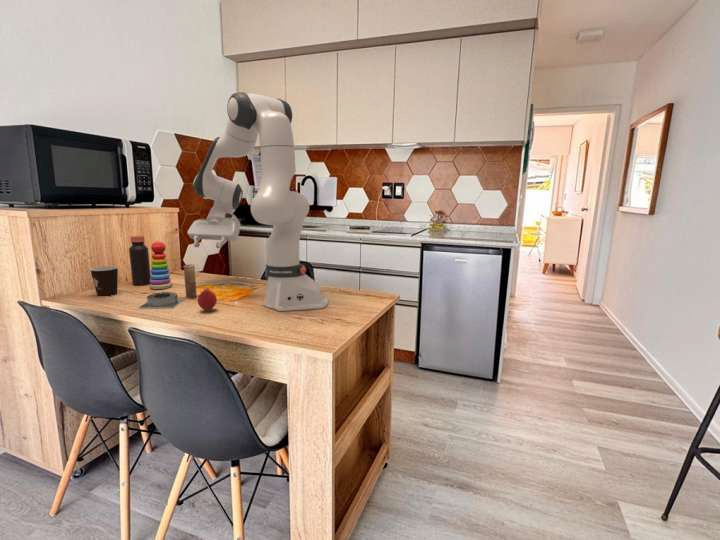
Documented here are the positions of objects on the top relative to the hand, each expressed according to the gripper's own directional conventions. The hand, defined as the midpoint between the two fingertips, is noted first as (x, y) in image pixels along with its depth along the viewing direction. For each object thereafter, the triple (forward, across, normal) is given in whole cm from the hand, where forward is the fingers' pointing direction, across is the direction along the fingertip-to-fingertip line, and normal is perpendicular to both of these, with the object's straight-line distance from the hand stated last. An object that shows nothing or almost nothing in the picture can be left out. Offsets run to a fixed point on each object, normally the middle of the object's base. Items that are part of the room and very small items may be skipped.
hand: (206, 246), depth 154 cm
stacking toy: (+14, -20, +11) cm, 27 cm away
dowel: (+21, 0, +3) cm, 21 cm away
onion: (+30, +15, -6) cm, 35 cm away
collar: (+28, -5, -3) cm, 28 cm away
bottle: (+12, -31, +13) cm, 36 cm away
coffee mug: (+23, -33, +2) cm, 40 cm away
